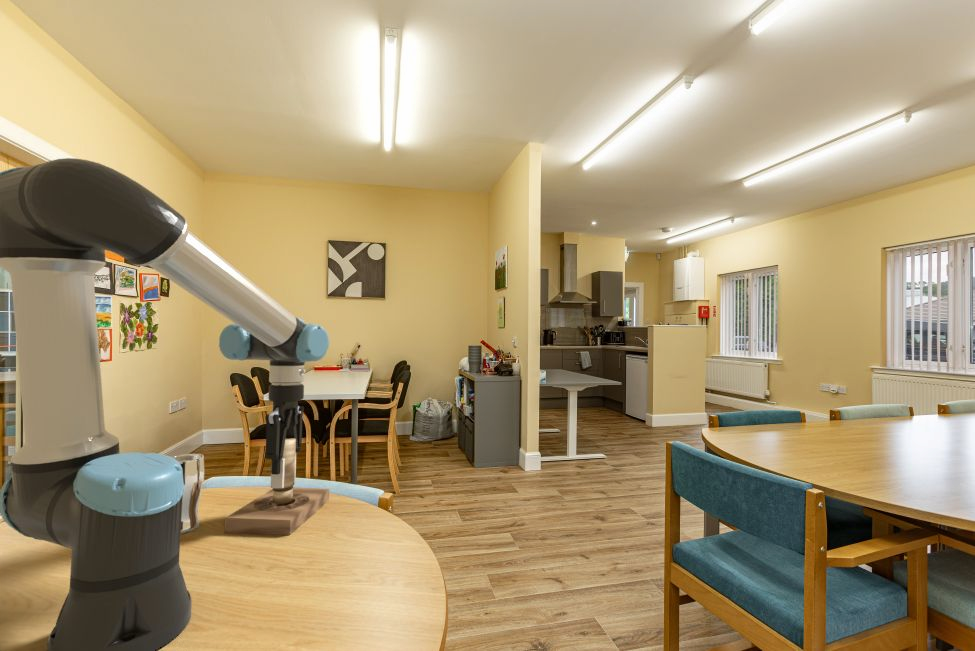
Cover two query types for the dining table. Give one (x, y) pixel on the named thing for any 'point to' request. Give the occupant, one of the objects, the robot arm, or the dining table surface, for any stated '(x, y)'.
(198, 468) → the metal cup
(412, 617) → the dining table surface
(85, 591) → the robot arm
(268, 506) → the board
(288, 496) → the peg
